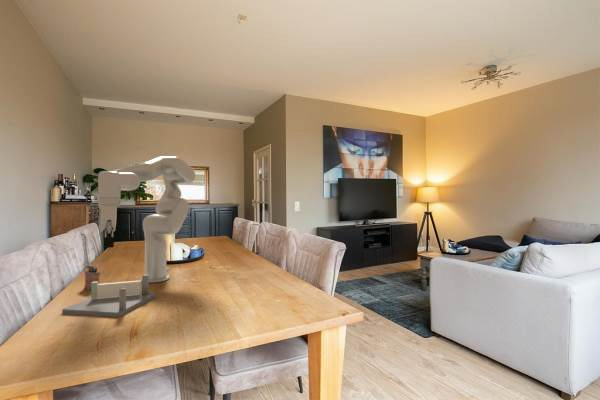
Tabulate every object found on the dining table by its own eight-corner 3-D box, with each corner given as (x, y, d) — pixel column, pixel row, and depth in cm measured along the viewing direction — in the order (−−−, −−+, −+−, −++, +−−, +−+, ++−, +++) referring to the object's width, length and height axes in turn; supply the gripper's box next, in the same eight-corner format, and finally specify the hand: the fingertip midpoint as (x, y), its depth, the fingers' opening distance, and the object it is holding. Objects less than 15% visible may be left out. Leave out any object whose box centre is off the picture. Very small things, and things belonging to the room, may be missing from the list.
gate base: (108, 294, 124) (108, 272, 124) (156, 296, 121) (156, 274, 121) (62, 313, 103) (62, 287, 103) (119, 317, 101) (119, 290, 101)
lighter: (101, 288, 131) (102, 265, 131) (93, 291, 128) (94, 267, 128) (90, 286, 135) (90, 264, 134) (82, 288, 131) (82, 265, 131)
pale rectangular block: (140, 292, 120) (141, 277, 120) (140, 294, 118) (140, 278, 118) (92, 297, 114) (92, 281, 114) (91, 299, 112) (91, 282, 112)
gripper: (98, 202, 125) (98, 243, 125) (97, 202, 111) (96, 249, 111) (119, 202, 129) (119, 242, 129) (121, 202, 115) (120, 248, 115)
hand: (108, 245), depth 120 cm, fingers open, 9 cm apart
